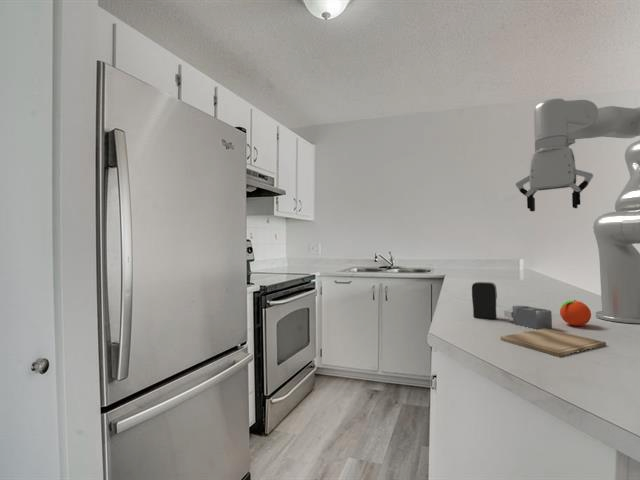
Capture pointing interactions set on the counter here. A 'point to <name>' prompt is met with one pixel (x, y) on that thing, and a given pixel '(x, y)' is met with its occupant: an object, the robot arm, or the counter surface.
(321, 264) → the counter surface
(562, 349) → the board
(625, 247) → the robot arm
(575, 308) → the clementine
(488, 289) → the battery charger
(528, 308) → the usb stick
